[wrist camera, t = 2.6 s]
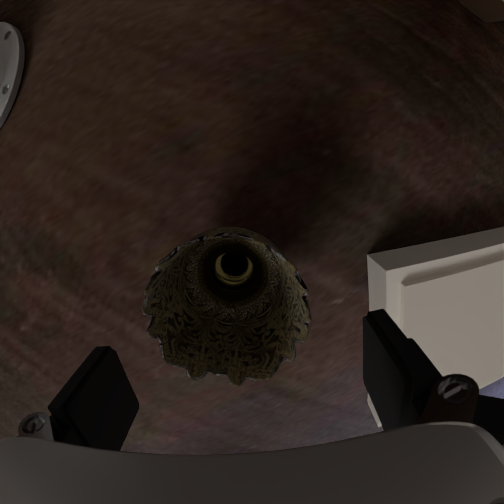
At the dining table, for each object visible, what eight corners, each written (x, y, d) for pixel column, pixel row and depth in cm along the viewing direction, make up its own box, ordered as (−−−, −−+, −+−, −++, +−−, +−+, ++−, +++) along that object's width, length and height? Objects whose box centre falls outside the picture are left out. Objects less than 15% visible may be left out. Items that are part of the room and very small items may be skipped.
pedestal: (366, 254, 21) (389, 274, 17) (505, 226, 20) (535, 237, 16) (367, 401, 24) (380, 432, 21) (486, 359, 24) (506, 380, 20)
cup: (302, 220, 20) (333, 255, 12) (277, 321, 22) (289, 396, 14) (187, 198, 20) (148, 221, 12) (173, 302, 22) (139, 369, 14)
